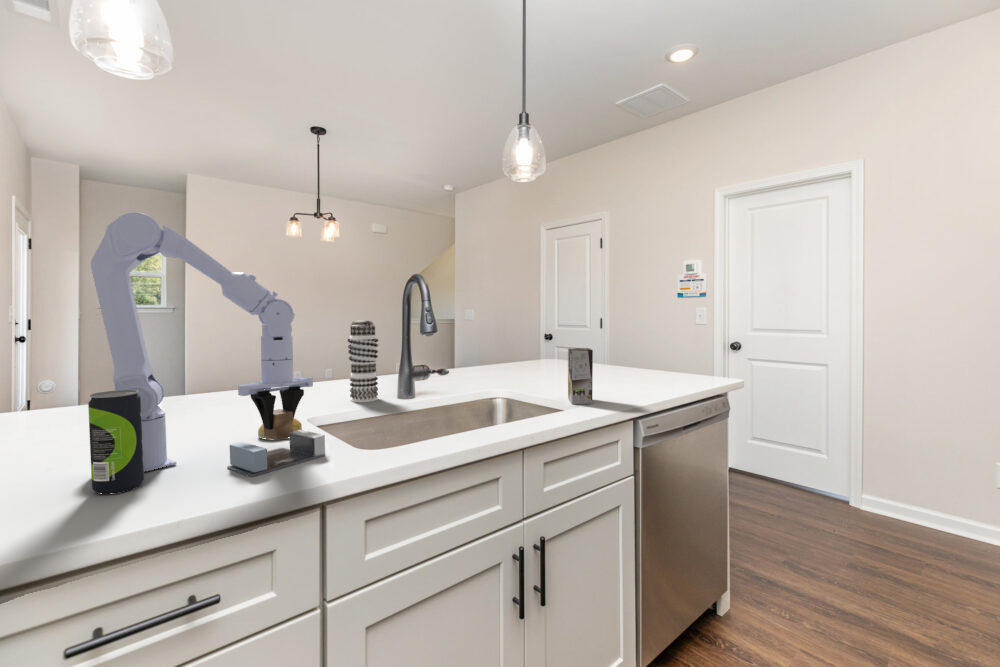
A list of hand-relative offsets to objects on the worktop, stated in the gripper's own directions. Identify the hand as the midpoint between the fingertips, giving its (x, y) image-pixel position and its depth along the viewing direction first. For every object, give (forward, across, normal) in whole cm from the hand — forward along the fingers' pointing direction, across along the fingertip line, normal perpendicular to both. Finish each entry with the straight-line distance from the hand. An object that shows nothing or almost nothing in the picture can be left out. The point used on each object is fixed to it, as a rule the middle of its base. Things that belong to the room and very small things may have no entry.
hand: (278, 426), depth 93 cm
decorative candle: (+4, +45, +28) cm, 53 cm away
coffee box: (+4, +78, -31) cm, 84 cm away
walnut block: (+2, 0, 0) cm, 2 cm away
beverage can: (+5, -26, 0) cm, 26 cm away
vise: (+4, -5, -8) cm, 10 cm away
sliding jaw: (+4, -10, -8) cm, 14 cm away
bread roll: (+5, +6, +9) cm, 12 cm away
